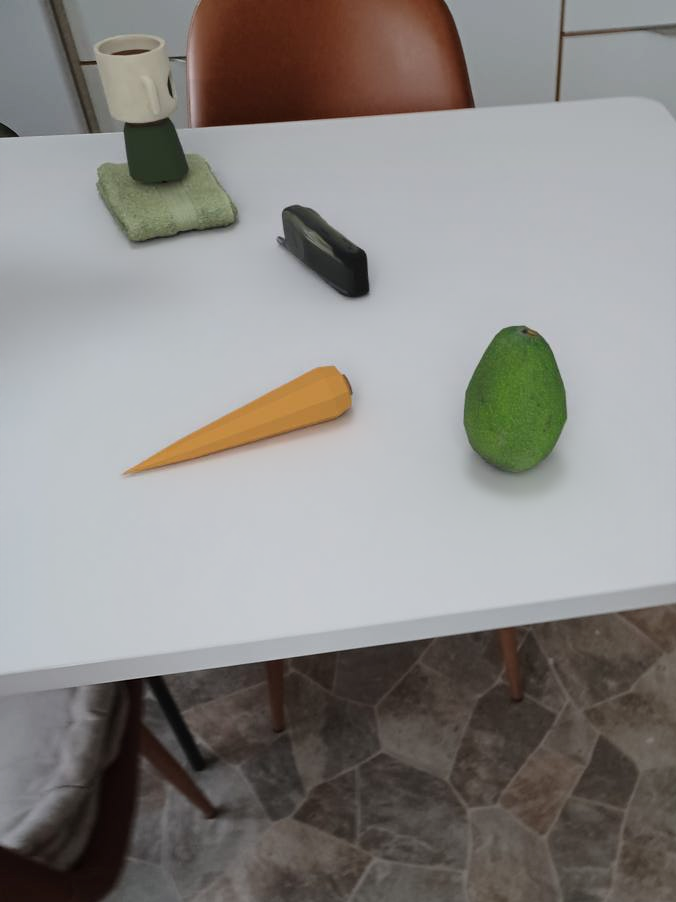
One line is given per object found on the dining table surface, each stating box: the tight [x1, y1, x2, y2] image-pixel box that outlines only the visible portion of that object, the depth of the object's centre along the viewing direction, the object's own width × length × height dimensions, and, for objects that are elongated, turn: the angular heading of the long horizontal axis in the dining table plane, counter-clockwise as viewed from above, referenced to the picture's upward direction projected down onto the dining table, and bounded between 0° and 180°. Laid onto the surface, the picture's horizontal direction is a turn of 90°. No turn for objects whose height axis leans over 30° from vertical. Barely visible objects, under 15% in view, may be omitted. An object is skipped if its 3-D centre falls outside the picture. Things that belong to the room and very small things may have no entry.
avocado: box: [462, 324, 568, 473], centre depth 73 cm, size 8×8×12 cm
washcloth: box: [95, 152, 239, 242], centre depth 107 cm, size 13×18×3 cm
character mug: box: [92, 33, 189, 183], centre depth 101 cm, size 11×7×13 cm, turn 30°
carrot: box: [120, 365, 354, 476], centre depth 78 cm, size 20×4×4 cm, turn 119°
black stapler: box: [275, 204, 370, 298], centre depth 97 cm, size 5×3×15 cm
